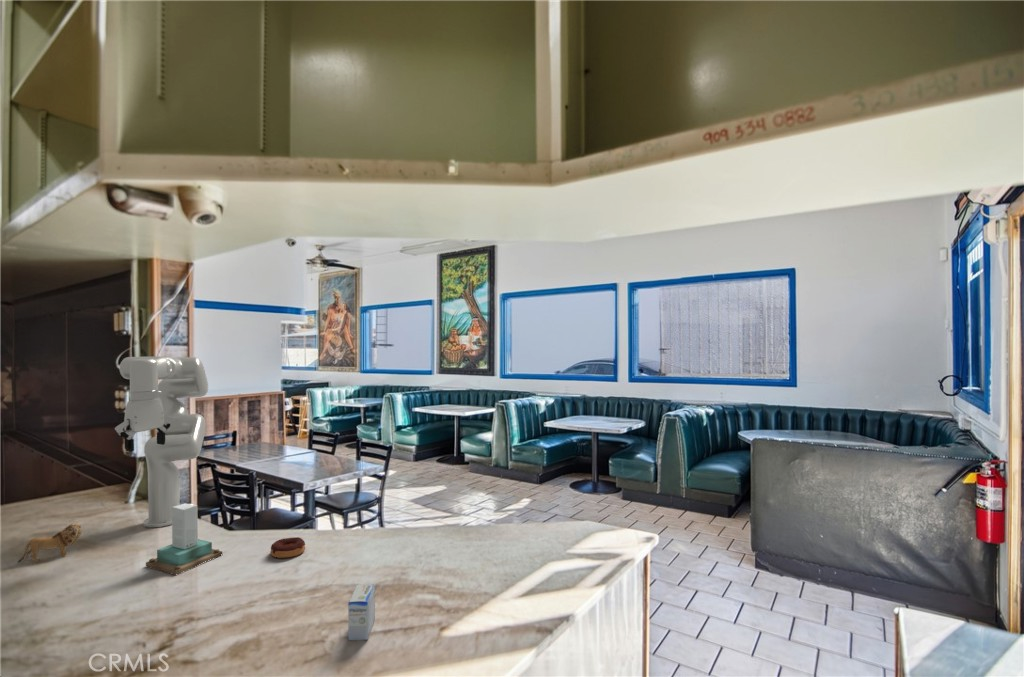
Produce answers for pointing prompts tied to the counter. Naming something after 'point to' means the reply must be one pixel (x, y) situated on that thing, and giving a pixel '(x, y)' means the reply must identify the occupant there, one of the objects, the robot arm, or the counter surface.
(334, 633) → the counter surface
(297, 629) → the counter surface
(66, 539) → the lion figurine
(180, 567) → the tower base
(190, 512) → the skincare box
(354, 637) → the medicine box
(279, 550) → the donut
